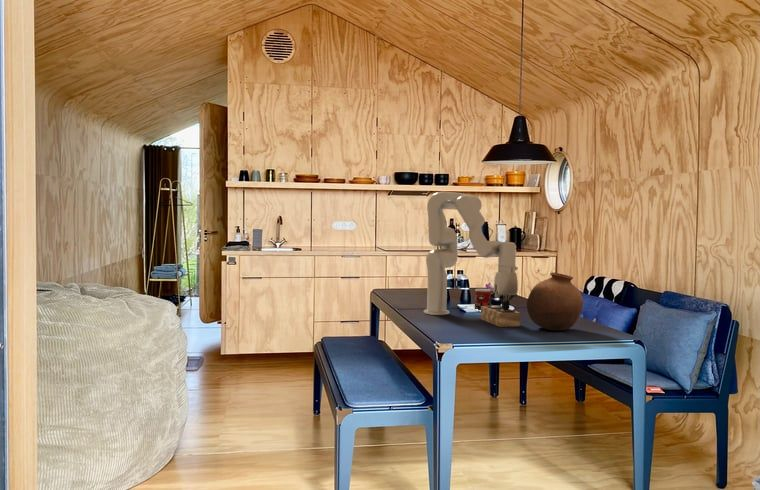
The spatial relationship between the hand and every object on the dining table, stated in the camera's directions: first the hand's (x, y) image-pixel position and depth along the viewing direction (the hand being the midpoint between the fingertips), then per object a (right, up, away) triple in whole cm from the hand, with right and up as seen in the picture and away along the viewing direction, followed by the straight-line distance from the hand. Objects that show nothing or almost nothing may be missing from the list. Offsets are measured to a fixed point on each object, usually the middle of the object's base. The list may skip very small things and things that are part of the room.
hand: (505, 309), depth 277 cm
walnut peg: (0, -7, +1) cm, 7 cm away
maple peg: (-3, -6, +10) cm, 12 cm away
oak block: (-2, -6, +5) cm, 8 cm away
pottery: (+19, -8, -9) cm, 23 cm away
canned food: (-4, -5, +36) cm, 36 cm away
